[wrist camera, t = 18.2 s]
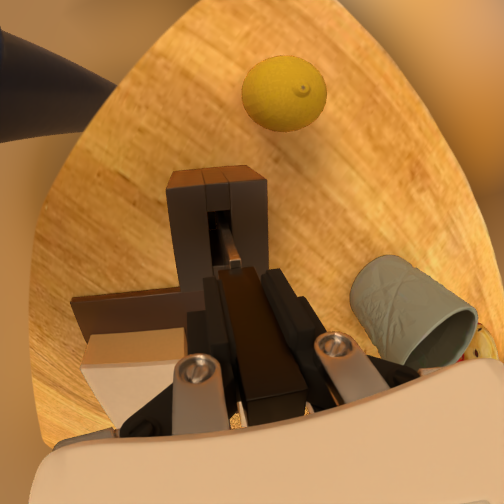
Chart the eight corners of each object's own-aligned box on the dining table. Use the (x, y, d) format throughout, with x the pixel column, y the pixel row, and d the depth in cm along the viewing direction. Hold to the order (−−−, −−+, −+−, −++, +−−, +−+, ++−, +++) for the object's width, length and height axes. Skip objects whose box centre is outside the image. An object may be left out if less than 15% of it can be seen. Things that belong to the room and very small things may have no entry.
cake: (90, 334, 26) (79, 368, 21) (183, 327, 27) (184, 363, 23) (125, 405, 31) (122, 436, 26) (201, 400, 32) (205, 433, 28)
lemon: (231, 68, 20) (251, 41, 13) (298, 68, 21) (343, 48, 14) (236, 133, 22) (258, 135, 15) (302, 130, 23) (348, 134, 16)
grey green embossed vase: (423, 259, 32) (490, 310, 21) (387, 327, 35) (439, 388, 24) (365, 240, 29) (442, 301, 18) (327, 321, 32) (377, 398, 21)
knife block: (172, 171, 22) (165, 188, 16) (246, 164, 23) (267, 179, 17) (182, 251, 25) (180, 293, 19) (249, 243, 26) (269, 282, 20)
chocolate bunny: (461, 293, 37) (524, 348, 23) (457, 336, 42) (506, 387, 28) (431, 317, 37) (493, 380, 23) (430, 357, 42) (478, 414, 28)
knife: (206, 207, 21) (244, 391, 6) (229, 205, 21) (311, 378, 6) (209, 241, 22) (249, 441, 7) (231, 238, 22) (301, 430, 8)
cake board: (72, 297, 25) (69, 302, 24) (271, 275, 28) (274, 280, 27) (128, 416, 33) (128, 421, 32) (271, 401, 36) (273, 407, 36)
